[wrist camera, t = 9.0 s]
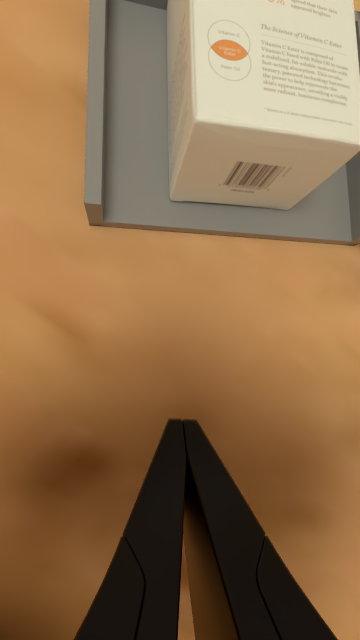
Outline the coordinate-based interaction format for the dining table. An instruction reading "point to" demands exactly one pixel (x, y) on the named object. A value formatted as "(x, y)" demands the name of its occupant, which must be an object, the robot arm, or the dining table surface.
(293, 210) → the tray
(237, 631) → the robot arm
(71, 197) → the dining table surface
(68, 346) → the dining table surface
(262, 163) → the small box
